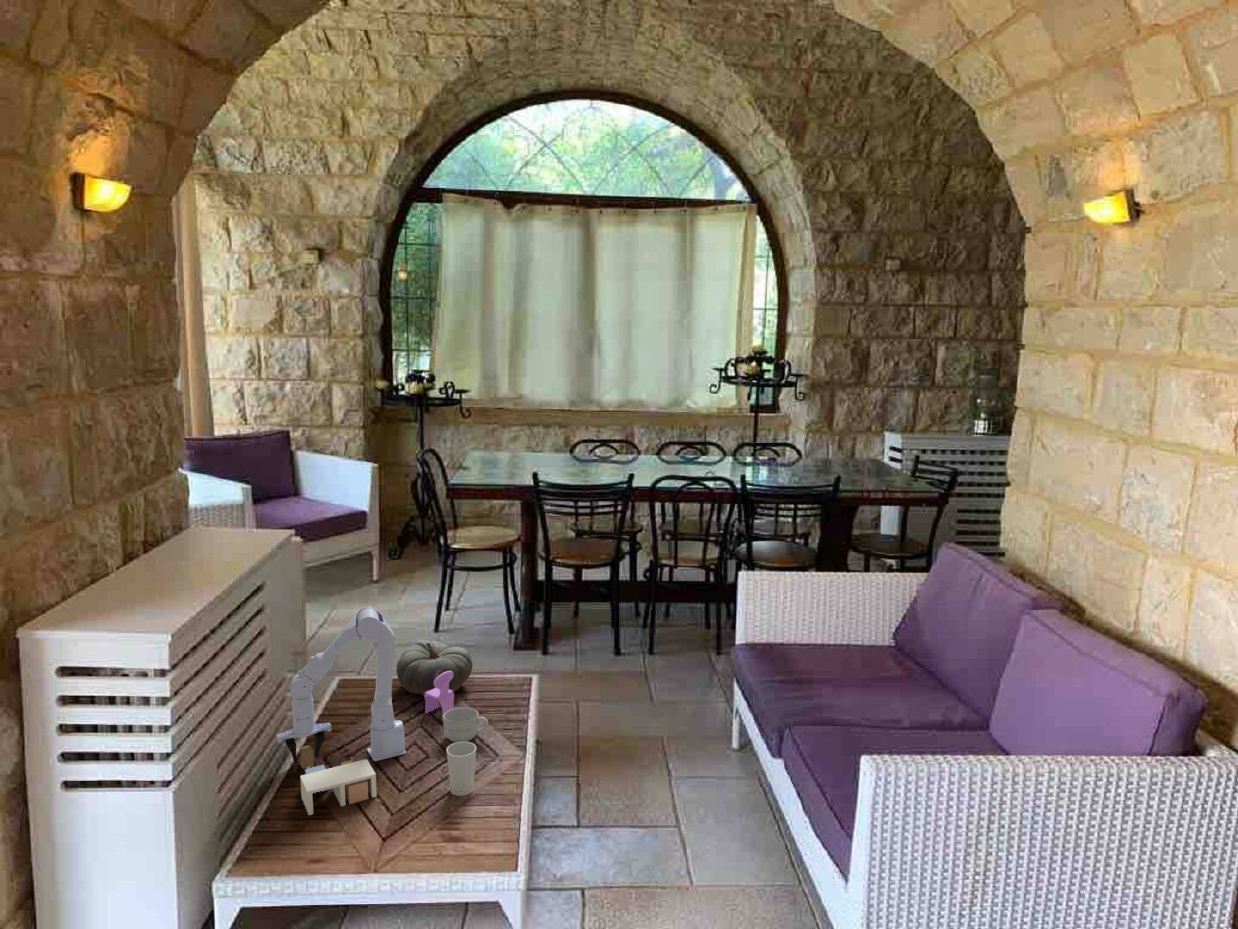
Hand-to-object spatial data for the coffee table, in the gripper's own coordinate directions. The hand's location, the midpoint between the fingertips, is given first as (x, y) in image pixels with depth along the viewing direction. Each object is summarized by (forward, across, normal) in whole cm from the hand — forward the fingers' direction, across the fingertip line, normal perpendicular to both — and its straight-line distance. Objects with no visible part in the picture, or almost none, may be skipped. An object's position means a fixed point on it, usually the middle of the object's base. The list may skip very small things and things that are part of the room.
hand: (305, 759), depth 247 cm
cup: (+2, -34, +35) cm, 49 cm away
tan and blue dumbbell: (+1, 0, +9) cm, 9 cm away
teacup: (+2, -45, +9) cm, 46 cm away
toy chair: (+2, -44, -11) cm, 46 cm away
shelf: (+1, -4, +22) cm, 23 cm away
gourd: (+2, -49, -30) cm, 58 cm away
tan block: (+1, -8, +21) cm, 22 cm away
